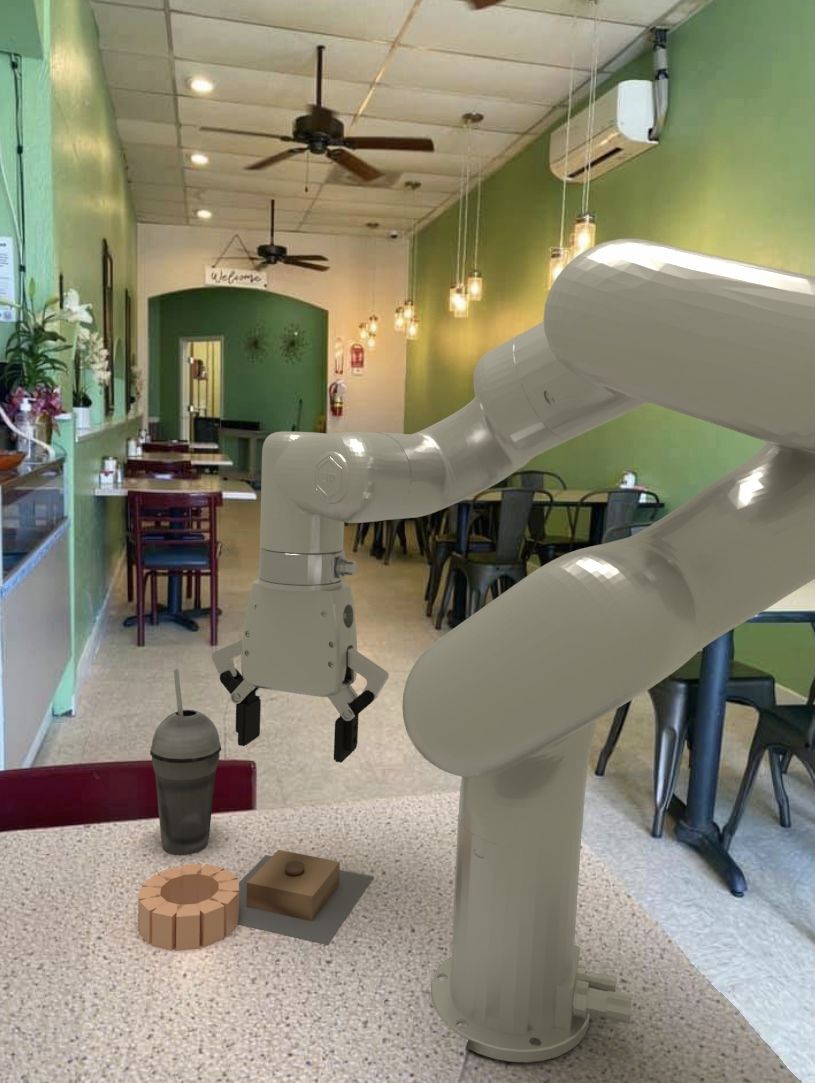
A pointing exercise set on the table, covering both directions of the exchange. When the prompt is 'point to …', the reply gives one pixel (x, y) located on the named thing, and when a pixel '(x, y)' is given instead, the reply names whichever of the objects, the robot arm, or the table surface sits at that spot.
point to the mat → (312, 931)
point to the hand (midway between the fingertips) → (295, 748)
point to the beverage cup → (185, 777)
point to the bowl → (188, 907)
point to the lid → (293, 885)
